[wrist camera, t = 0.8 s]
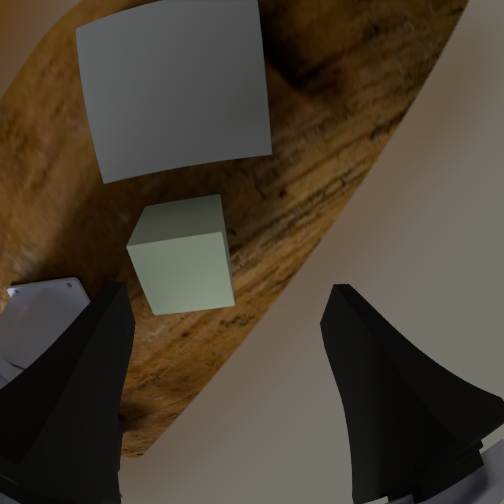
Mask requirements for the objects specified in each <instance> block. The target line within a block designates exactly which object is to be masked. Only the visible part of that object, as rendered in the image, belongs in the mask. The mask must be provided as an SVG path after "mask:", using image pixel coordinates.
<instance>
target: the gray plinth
mask: <svg viewBox="0 0 504 504" xmlns="http://www.w3.org/2000/svg"><path fill="white" fill-rule="evenodd" d="M76 40H77V50H78V60H79V68H80V75H81V82H82V89H83V95H84V100H85V106H86V111H87V116H88V121H89V126H90V131H91V135H92V140H93V144H94V148H95V152H96V156H97V160H98V164H99V168H100V172H101V175H102V179H103V182H104V184H106V183H110V182H114V181H118V180H122V179H126V178H131V177H135V176H140V175H144V174H149V173H154V172H159V171H164V170H169V169H174V168H180V167H186V166H191V165H197V164H204V163H210V162H217V161H224V160H231V159H238V158H246V157H255V156H264V155H272V146H271V133H270V120H269V108H268V97H267V86H266V75H265V65H264V55H263V45H262V36H261V27H260V18H259V9H258V1H257V0H161V1H157V2H153V3H149V4H145V5H141V6H138V7H134V8H131V9H128V10H124V11H121V12H118V13H115V14H112V15H109V16H107V17H104V18H101V19H98V20H96V21H93V22H91V23H88V24H86V25H83V26H81V27H79V28H76Z"/></svg>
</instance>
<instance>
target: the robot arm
mask: <svg viewBox="0 0 504 504" xmlns="http://www.w3.org/2000/svg"><path fill="white" fill-rule="evenodd" d="M69 283H70V284H69ZM7 290H8V293H9V295H10V296H11V299H10V300H9V302H8V304H7V305H6V307H5V309H4V310H3V312H2V314H1V315H0V504H121V499H120V492H119V482H118V468H117V429H118V414H119V406H120V400H121V395H122V390H123V386H124V381H125V377H126V373H127V368H128V364H129V360H130V356H131V352H132V346H133V339H134V331H135V320H134V316H133V313H132V309H131V305H130V302H129V298H128V294H127V290H126V286H125V282H108V283H107V284H106V285H105V286H104V287H103V288H102V289H101V290H100V291H99V293H98V294H97V295H96V296H95V297H94V298H93V299H92V300H91V301H90V300H89V298H88V296H87V294H86V292H85V290H84V288H83V287H82V285H81V283H80V281H79V280H78V279H77V278H75V277H70V278H63V279H56V280H49V281H42V282H35V283H28V284H22V285H15V286H9V288H8V289H7ZM320 326H321V332H322V337H323V341H324V347H325V350H326V353H327V356H328V359H329V362H330V365H331V368H332V371H333V375H334V377H335V380H336V384H337V386H338V390H339V392H340V396H341V399H342V403H343V407H344V412H345V417H346V423H347V428H348V436H349V443H350V452H351V464H352V498H353V503H354V504H363V503H367V502H370V501H374V500H377V499H380V498H383V497H385V496H387V497H388V501H389V502H388V503H385V504H499V503H501V502H502V501H503V500H504V440H503V439H502V440H500V441H498V442H497V443H496V444H494V445H493V446H491V447H490V448H489V449H487V450H486V451H484V452H482V453H481V454H480V452H479V449H481V448H482V447H483V444H482V442H481V439H483V438H485V437H486V436H487V435H489V434H490V433H492V432H493V431H494V430H495V429H497V428H498V427H500V426H501V425H502V424H504V401H503V399H502V398H501V397H498V396H496V395H494V394H491V393H489V392H487V391H484V390H482V389H480V388H477V387H476V386H474V385H472V384H470V383H468V382H466V381H464V380H463V379H461V378H459V377H458V376H456V375H454V374H453V373H451V372H449V371H448V370H447V369H445V368H444V367H442V366H441V365H439V364H438V363H436V362H435V361H433V360H432V359H431V358H430V357H428V356H427V355H426V354H424V353H423V352H422V351H420V350H419V349H418V348H417V347H415V346H414V345H413V344H412V343H411V342H410V341H409V340H407V339H406V338H405V337H404V336H403V335H402V334H401V333H399V332H398V331H397V330H396V329H395V328H394V327H393V326H392V325H391V324H390V323H389V322H388V321H387V320H386V319H385V318H383V316H382V315H381V314H380V313H378V312H377V311H376V310H375V309H374V308H373V307H372V306H371V305H370V304H369V303H368V302H367V301H366V300H365V299H364V298H363V297H362V296H361V295H360V294H359V293H358V292H357V291H356V290H355V289H354V288H353V287H352V286H350V285H349V284H334V285H333V288H332V291H331V294H330V297H329V300H328V302H327V305H326V308H325V311H324V314H323V317H322V319H321V322H320Z"/></svg>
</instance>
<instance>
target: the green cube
mask: <svg viewBox="0 0 504 504" xmlns="http://www.w3.org/2000/svg"><path fill="white" fill-rule="evenodd" d="M126 247H127V250H128V253H129V255H130V258H131V261H132V263H133V266H134V268H135V271H136V273H137V276H138V279H139V281H140V283H141V286H142V288H143V291H144V293H145V295H146V298H147V300H148V303H149V305H150V307H151V309H152V312H153V314H154V315H161V314H170V313H179V312H188V311H197V310H205V309H213V308H220V307H228V306H235V302H234V292H233V282H232V272H231V261H230V254H229V248H228V242H227V235H226V229H225V223H224V217H223V210H222V204H221V197H220V194H216V195H210V196H203V197H197V198H191V199H184V200H179V201H173V202H167V203H161V204H156V205H151V206H145V208H144V210H143V212H142V214H141V216H140V218H139V220H138V222H137V225H136V227H135V229H134V231H133V233H132V235H131V237H130V239H129V242H128V244H127V246H126Z"/></svg>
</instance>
